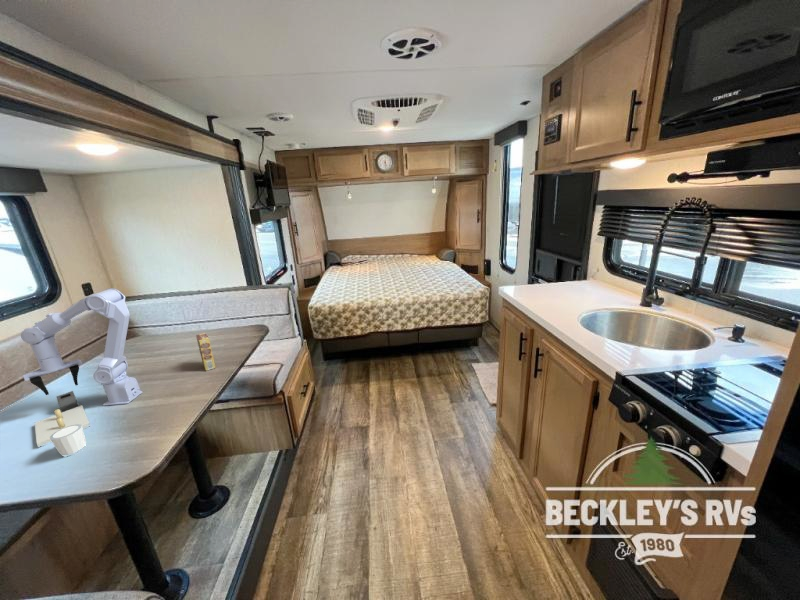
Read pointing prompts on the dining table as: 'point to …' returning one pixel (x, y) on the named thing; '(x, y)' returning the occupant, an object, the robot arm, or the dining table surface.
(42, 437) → the housing base
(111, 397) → the robot arm
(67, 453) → the white faceted cup
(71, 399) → the grey hollow block
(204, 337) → the candy box
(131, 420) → the dining table surface
